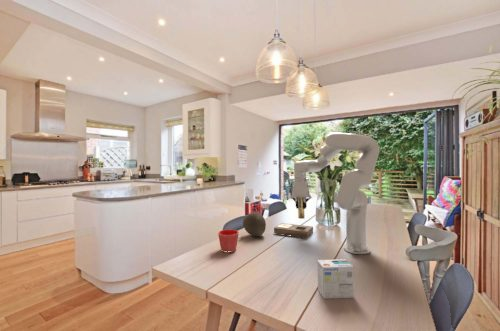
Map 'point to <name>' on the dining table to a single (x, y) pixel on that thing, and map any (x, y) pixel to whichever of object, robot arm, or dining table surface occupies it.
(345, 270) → the light bulb box
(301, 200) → the brass peg
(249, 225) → the cantaloupe
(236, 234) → the flower pot
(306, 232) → the brown flat wooden block
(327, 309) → the dining table surface
